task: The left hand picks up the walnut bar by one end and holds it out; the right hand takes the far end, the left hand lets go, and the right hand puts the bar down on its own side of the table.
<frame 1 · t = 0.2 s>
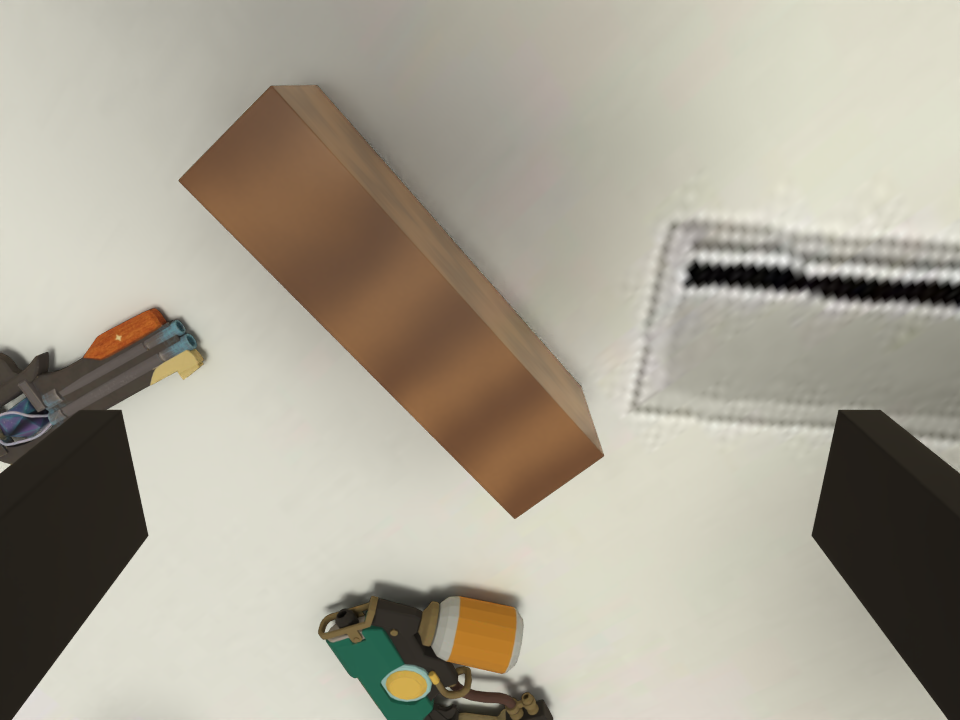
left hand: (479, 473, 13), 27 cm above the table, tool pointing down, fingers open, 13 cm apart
spray gun: (443, 665, 50), on the table
bar: (422, 281, 39), on the table
toy gun: (37, 360, 41), on the table
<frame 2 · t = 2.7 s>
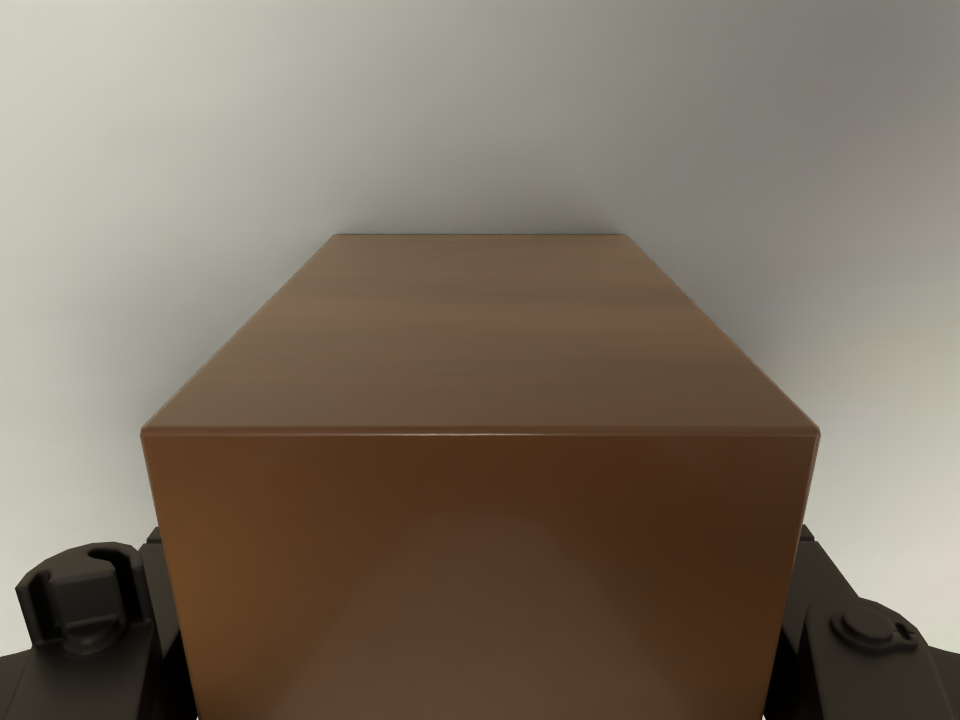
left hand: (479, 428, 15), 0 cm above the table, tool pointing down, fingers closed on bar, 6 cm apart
bar: (480, 670, 18), on the table, touching left hand
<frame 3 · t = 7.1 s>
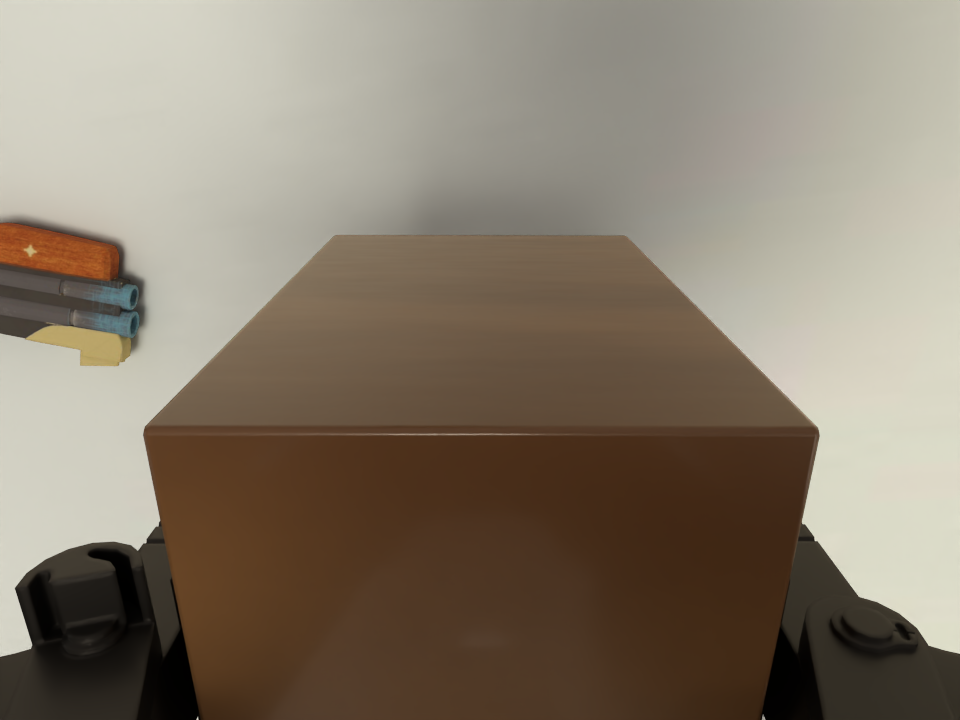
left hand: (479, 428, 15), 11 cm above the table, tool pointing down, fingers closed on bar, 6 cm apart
bar: (479, 669, 18), point 11 cm above the table, touching left hand, right hand
when the left hand's fingers open (11 cm above the table, at t = 8.0 s): bar stays where it is, held by the right hand.
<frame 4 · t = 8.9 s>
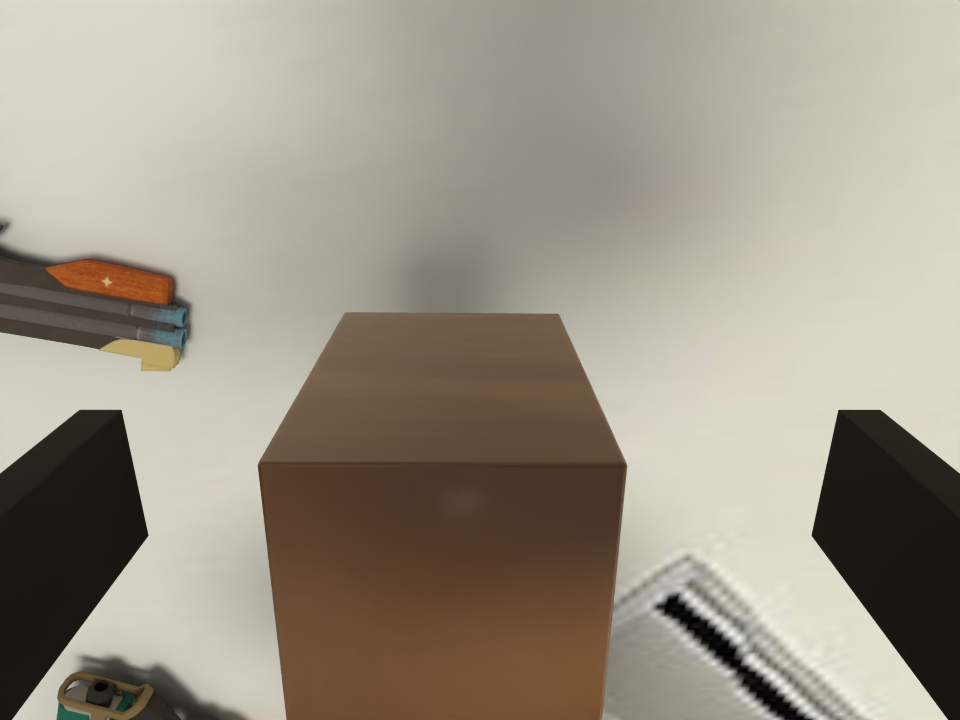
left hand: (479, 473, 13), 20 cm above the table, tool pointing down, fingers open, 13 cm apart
bar: (452, 643, 22), point 13 cm above the table, touching right hand
when the right hand's fingers open (4 cm above the table, at t = 16.1 s): bar stays where it is, on the table.
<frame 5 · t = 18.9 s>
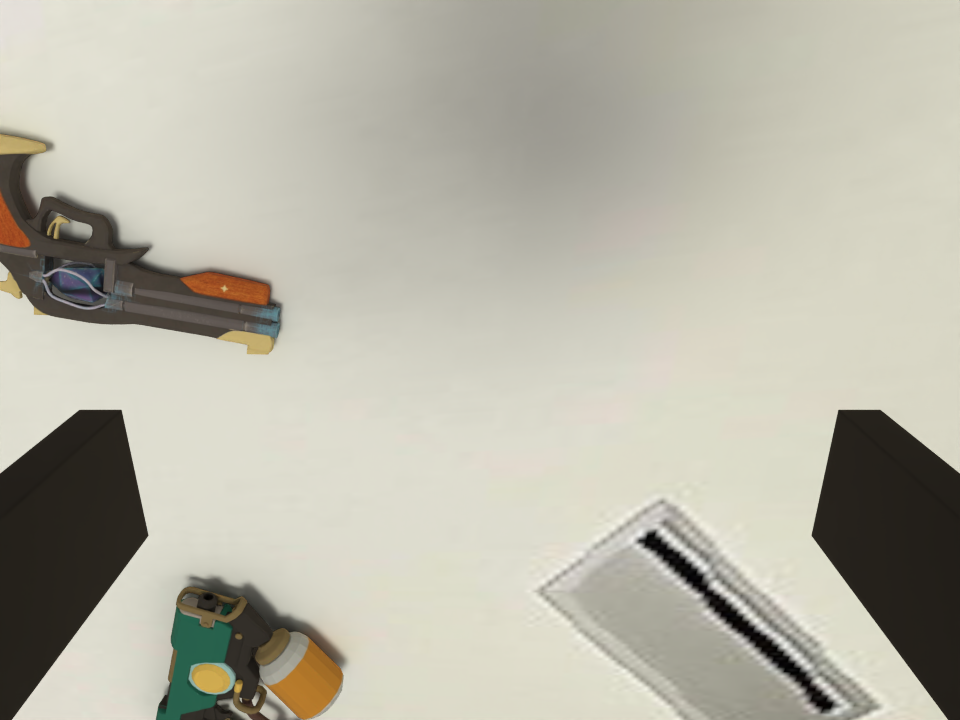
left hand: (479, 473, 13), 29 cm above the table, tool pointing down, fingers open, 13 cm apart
spray gun: (244, 673, 53), on the table
toy gun: (129, 242, 41), on the table
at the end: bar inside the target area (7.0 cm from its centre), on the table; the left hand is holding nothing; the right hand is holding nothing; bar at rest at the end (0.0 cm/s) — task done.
